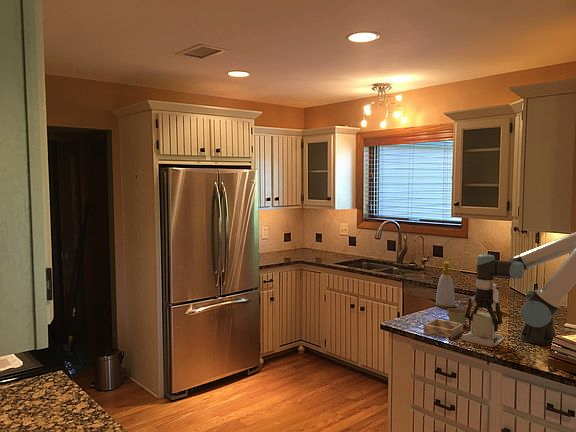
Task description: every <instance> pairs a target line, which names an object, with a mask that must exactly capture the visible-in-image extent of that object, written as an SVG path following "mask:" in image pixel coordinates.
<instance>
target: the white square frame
mask: <svg viewBox="0 0 576 432" xmlns="http://www.w3.org/2000/svg"><path fill="white" fill-rule="evenodd" d="M461 338H462V339H461ZM460 339H461V340H462V341H463V340H465V341H464V342H468V343H472V344H478V345H481V344H482V345H481V346H486V347H491V348H492V347H493V346H494V347H496V346H498V345H499V344H500V343H502V342H503V341H504V340H505V338H504V337H503V335H502V334H499V333H495V338H494V339H497V341H495V342H494V339H493V340H491V339H488V338H487V337H482V336H481V337H477V336H474V335H473V334H471V330H470V331H468V332H467V333H462V335H461V337H460Z"/></svg>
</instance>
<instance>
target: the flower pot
mask: <svg viewBox="0 0 576 432" xmlns="http://www.w3.org/2000/svg"><path fill="white" fill-rule="evenodd" d="M466 311H467V309H463V308H462V309H461V308H447V309H446V313H447V318H448V321H451V322H456V323H461V324H463V325H464V323H465V321H466V319H467V318H465V315H466Z"/></svg>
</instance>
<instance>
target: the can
mask: <svg viewBox="0 0 576 432" xmlns="http://www.w3.org/2000/svg"><path fill="white" fill-rule="evenodd" d="M492 318H493V317H491V316H490V314H489V312H483V311H477V313H475V314H473V334H472V335H474V336H477V337H481V336H482V337H487V338H488V339H491V340H493V341H494V339H492V325H493V324H494V323H493V320H492Z"/></svg>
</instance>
